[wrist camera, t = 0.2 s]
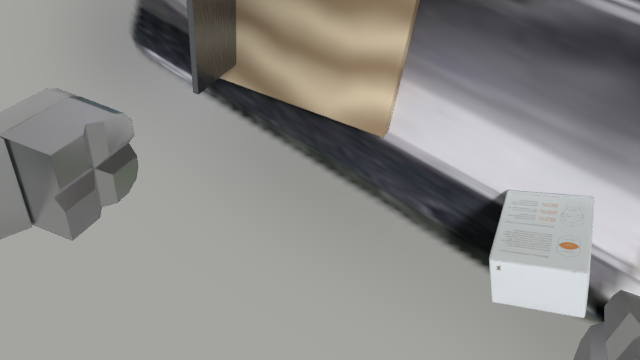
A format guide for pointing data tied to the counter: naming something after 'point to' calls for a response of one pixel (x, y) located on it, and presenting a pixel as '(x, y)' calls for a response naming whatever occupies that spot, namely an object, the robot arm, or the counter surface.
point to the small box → (543, 252)
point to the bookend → (211, 40)
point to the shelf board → (326, 55)
